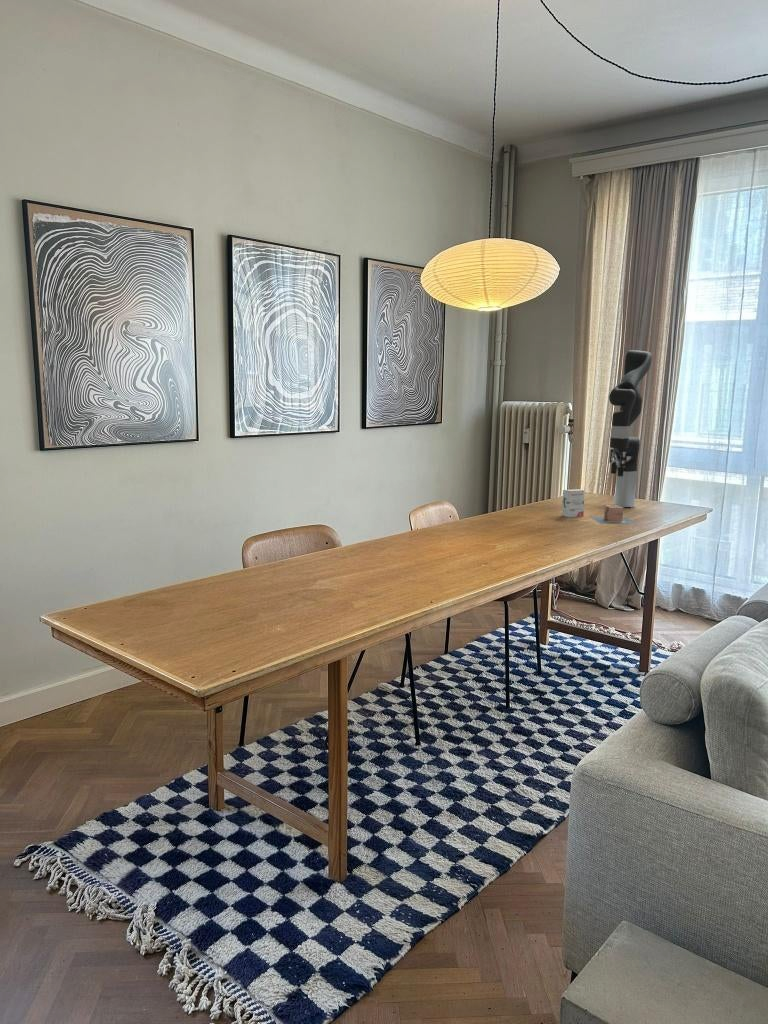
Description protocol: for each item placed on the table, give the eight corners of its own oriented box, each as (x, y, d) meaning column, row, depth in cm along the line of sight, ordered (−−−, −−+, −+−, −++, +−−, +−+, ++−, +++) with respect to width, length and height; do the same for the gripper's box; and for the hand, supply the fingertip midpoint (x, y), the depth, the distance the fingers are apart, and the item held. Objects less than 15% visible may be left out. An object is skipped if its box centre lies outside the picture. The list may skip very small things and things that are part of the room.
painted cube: (604, 518, 334) (605, 505, 333) (617, 519, 334) (618, 505, 333) (608, 521, 328) (609, 507, 327) (622, 521, 328) (623, 507, 327)
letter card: (589, 517, 339) (589, 516, 339) (625, 517, 340) (625, 517, 339) (600, 524, 323) (600, 523, 323) (638, 525, 324) (638, 524, 324)
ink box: (576, 514, 345) (578, 488, 343) (583, 516, 340) (585, 490, 338) (560, 516, 341) (562, 489, 339) (568, 518, 337) (569, 491, 334)
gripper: (605, 435, 332) (602, 472, 335) (616, 438, 318) (613, 477, 321) (622, 435, 332) (619, 472, 335) (634, 438, 318) (631, 477, 321)
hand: (616, 474), depth 328 cm, fingers open, 8 cm apart
